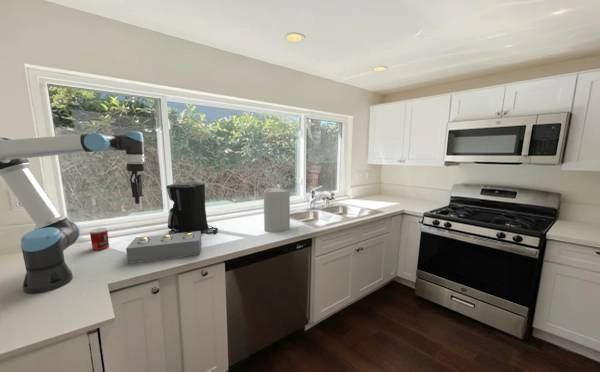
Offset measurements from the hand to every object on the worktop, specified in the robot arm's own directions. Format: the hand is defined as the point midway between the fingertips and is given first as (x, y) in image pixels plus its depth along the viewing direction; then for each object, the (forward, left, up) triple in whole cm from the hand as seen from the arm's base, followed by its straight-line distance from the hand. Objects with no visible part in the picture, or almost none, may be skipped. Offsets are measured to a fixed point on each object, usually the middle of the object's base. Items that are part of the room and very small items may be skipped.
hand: (138, 209), depth 127 cm
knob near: (+4, 0, -24) cm, 25 cm away
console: (+4, -11, -27) cm, 29 cm away
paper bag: (+25, -75, -27) cm, 84 cm away
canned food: (+23, +27, -27) cm, 45 cm away
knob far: (+4, -22, -24) cm, 33 cm away
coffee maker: (+35, -20, -27) cm, 49 cm away
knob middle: (+4, -11, -24) cm, 27 cm away
